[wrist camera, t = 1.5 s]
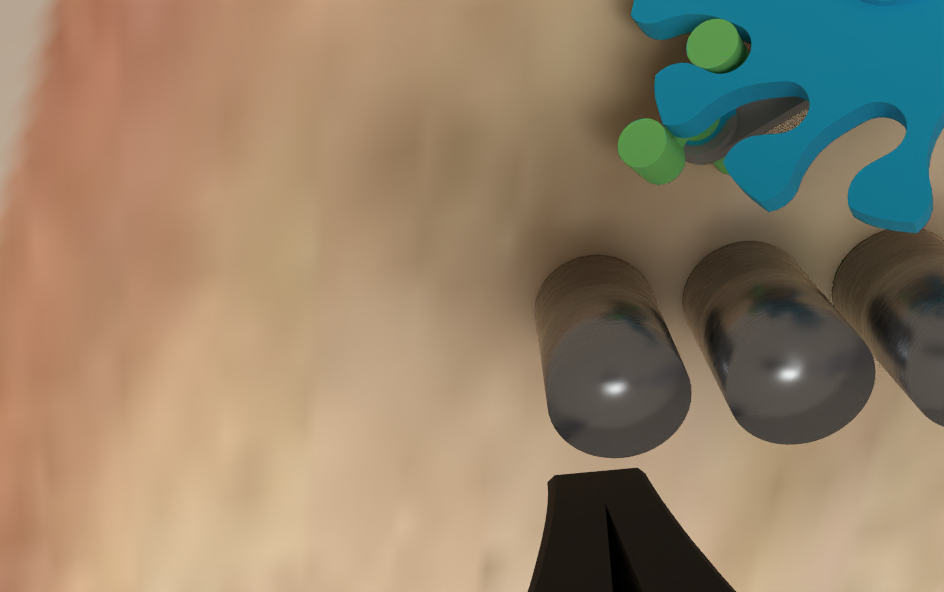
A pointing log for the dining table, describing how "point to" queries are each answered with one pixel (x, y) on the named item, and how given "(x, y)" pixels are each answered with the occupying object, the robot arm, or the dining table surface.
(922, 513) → the dining table surface
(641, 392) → the spacer field
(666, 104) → the gear
